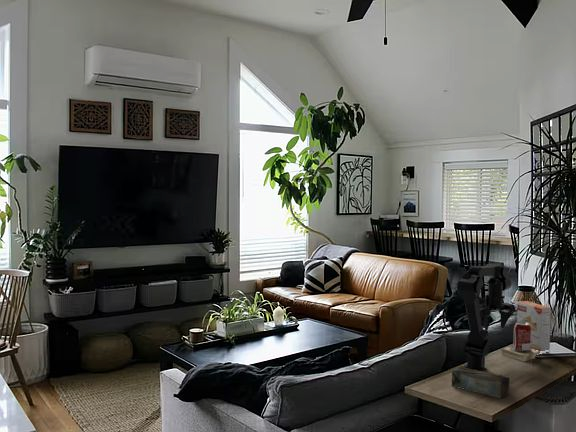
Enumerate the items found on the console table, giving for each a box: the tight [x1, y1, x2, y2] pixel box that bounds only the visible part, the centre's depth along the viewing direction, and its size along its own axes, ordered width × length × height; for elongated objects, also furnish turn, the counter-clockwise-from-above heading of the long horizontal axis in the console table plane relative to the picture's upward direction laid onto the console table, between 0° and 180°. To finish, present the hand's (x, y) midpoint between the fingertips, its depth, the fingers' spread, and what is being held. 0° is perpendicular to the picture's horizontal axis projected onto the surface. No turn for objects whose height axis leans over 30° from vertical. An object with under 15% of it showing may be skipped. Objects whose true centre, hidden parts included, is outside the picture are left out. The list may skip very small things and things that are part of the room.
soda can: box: [512, 321, 531, 352], centre depth 245 cm, size 7×7×12 cm
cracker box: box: [516, 300, 552, 351], centre depth 254 cm, size 14×6×21 cm, turn 23°
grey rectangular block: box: [451, 366, 510, 399], centre depth 207 cm, size 8×19×7 cm, turn 48°
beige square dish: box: [501, 345, 540, 362], centre depth 246 cm, size 11×11×3 cm
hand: (494, 328), depth 241 cm, fingers open, 9 cm apart
